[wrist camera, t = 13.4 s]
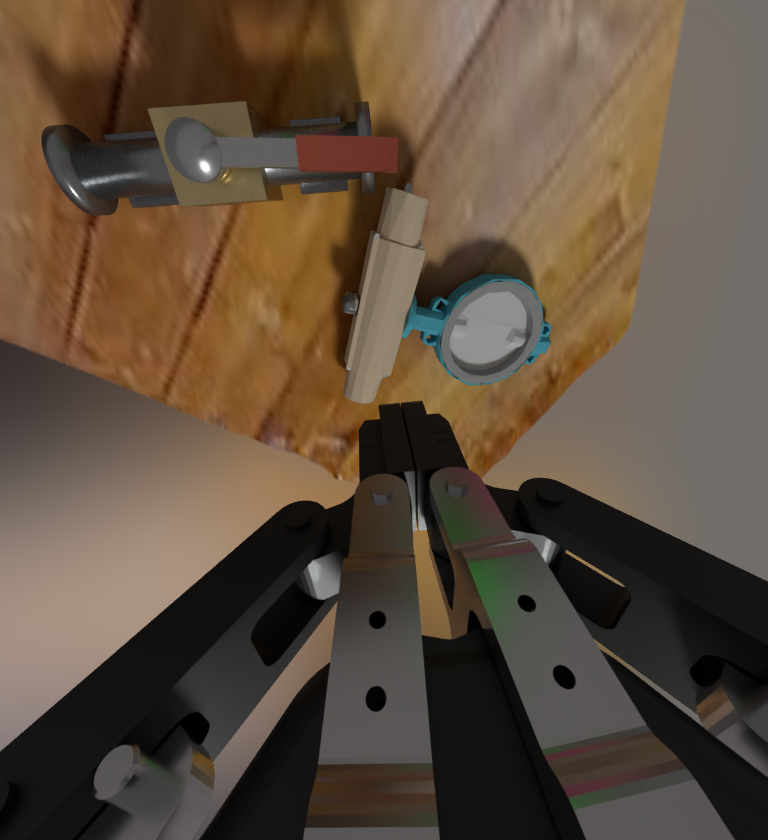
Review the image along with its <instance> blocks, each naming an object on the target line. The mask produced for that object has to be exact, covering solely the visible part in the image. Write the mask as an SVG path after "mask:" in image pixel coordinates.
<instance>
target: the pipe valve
mask: <svg viewBox="0 0 768 840" xmlns="http://www.w3.org/2000/svg"><path fill="white" fill-rule="evenodd" d="M148 112H149V115H150V118H151V121H152V124H153V127H154V130H155V131H147V132H134V133H121V134H108V135H104V137H105V140H106V141H97V142H91V141H90V139H89V138H88V137H87V136H86V135H85V134H83V133H82V132H81V131H80V130H78V129H77V128H75V127H73V126H71V125H53V126H48V127H46V128H45V129H44V131H43V133H42V149H43V153H44V157H45V160H46V162H47V165H48V167H49V169H50V171H51V173H52V175H53V177H54V179H55V180H56V182H57V184H58V185H59V187H60V188H61V189H62V191H63V192H64V193H65V195H66V196H67V197H68V198H69V199H70V200H71V201H72V202H73V203H74V204H75V205H76V206H77V207H78V208H80V209H81V210H82V211H84V212H86V213H88V214H90V215H93V216H100V215H110V214H113V213H114V212H115V211H116V209H117V206H118V198H128V197H129V200H130V202H131V205H132V207H133V208H140V207H156V206H168V205H180V207H187V206H220V205H232V204H244V203H256V202H269V201H281V200H283V197H282V192H281V187H280V185H288V184H300V188H301V194H314V193H326V192H339V191H348V184H347V180H350V179H361V187H362V194H367V193H374V173H330V172H301V171H300V170H299V169H269V168H227V171H226V173H225V175H224V176H223V178H222V179H221V180H219V181H218V182H216V183H212V184H207V183H199V182H194V181H191V180H189V179H187V178H185V177H184V176H182V175H181V174H180V173H179V172H178V171H177V170H176V169H175V168H174V167H173V165H172V164H171V162H170V160H169V158H168V156H167V153H166V149H165V143H164V137H165V132H166V129H167V127H168V125H169V124H170V123H171V122H172V121H173V120H174V119H176V118H179V117H189V118H193V119H195V120H197V121H199V122H201V123H203V124H205V125H207V126H208V127H210V128H211V129H213V130H214V131H215V132H216V133H217V134H218V136H219V137H243V138H291V139H296V136H295V135H325V136H371V137H372V132H371V121H370V111H369V104H368V102H355V119H356V121H355V122H342V123H341V119H340V117H329V118H316V119H303V120H290V121H289V122H290V127H278V128H269V125H268V122H267V121H266V120H265V119H264V118H263V117H262V116H261V115H260V114H259V113H258V112H257V111H256V110H255V109H254V108H252V107H251V106H250V105H249V104H248V103H247V102H246V101H241V102H228V103H214V104H201V105H188V106H174V107H161V108H148Z"/></svg>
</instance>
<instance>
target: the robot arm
mask: <svg viewBox="0 0 768 840" xmlns="http://www.w3.org/2000/svg"><path fill="white" fill-rule="evenodd" d="M379 415H380V419H376V420H366V421H364V423H363V424H362V426H361V427H360V429H359V472H360V482H359V485H358V486H357V488H356V491H355V494H354V495H353V496H352V497H351V498H350V499H348V500H347V501H345V502H343V503H341V504H339V505H336V506H334V507H331V508H328V509H325V508H324V507H323V506H322V505H320V504H319V503H316V502H313V501H298V502H294V503H291V504H289V505H287V506H285V507H283V508H282V509H281V510H279V512H277V513H276V514H275V515H274V516H272V517H271V518H270V519H269V520H268V521H267V522H265V523H264V524H263V525H262V526H261V527H260V528H259V529H257V530H256V531H255V532H254V533H253V534H252V535H251V536H249V537H248V538H247V539H246V540H245V541H243V542H242V543H241V544H240V545H239V546H238V547H237V548H235V549H234V550H233V551H232V552H231V553H230V554H228V555H227V556H226V557H225V558H224V559H223V560H222V561H220V562H219V563H218V564H217V565H216V566H215V567H213V568H212V569H211V570H210V571H209V572H208V573H206V574H205V575H204V576H203V577H202V578H201V579H200V580H198V581H197V582H196V583H195V584H194V585H193V586H191V587H190V588H189V589H188V590H187V591H186V592H185V593H183V594H182V595H181V596H180V597H179V598H178V599H176V600H175V601H174V602H173V603H172V604H171V605H169V606H168V607H167V608H166V609H165V610H164V611H162V612H161V613H160V614H159V615H158V616H157V617H156V618H154V619H153V620H152V621H151V622H150V623H149V624H148V625H146V626H145V627H144V628H143V629H142V630H141V631H139V632H138V633H137V634H136V635H135V636H134V637H132V638H131V639H130V640H129V641H128V642H127V643H126V644H124V645H123V646H122V647H121V648H120V649H119V650H117V651H116V652H115V653H114V654H113V655H112V656H111V657H109V658H108V659H107V660H106V661H105V662H103V663H102V664H101V665H100V666H99V667H98V668H97V669H95V670H94V671H93V672H92V673H91V674H90V675H89V676H87V677H86V678H85V679H84V680H83V681H81V683H79V684H78V685H77V686H76V687H75V688H73V689H72V690H71V691H70V692H69V693H68V694H66V695H65V696H64V697H63V698H62V699H61V700H60V701H58V702H57V703H56V704H55V705H54V706H53V707H52V708H50V709H49V710H48V711H47V712H46V713H44V714H43V715H42V716H41V717H40V718H39V719H38V720H36V721H35V722H34V723H33V724H32V725H31V726H29V727H28V728H27V729H26V730H25V731H24V732H23V733H21V734H20V735H19V736H18V737H17V738H16V739H14V740H13V741H12V742H11V743H10V744H9V745H7V746H6V747H5V748H4V749H3V750H2V751H0V840H191V839H192V837H193V836H194V834H195V832H196V831H197V829H198V827H199V825H200V824H201V822H202V820H203V818H204V816H205V814H206V812H207V809H208V807H209V804H210V801H211V797H212V793H213V788H214V779H215V772H214V765H213V761H214V760H215V759H216V758H217V756H218V755H219V753H220V752H221V751H222V750H223V748H224V747H225V746H226V745H227V743H228V742H229V741H230V739H231V738H232V737H233V735H234V734H235V733H236V732H237V730H238V729H239V728H240V726H241V725H242V724H243V722H244V721H245V720H246V719H247V717H248V716H249V715H250V713H251V712H252V711H253V710H254V708H255V707H256V706H257V704H258V703H259V702H260V701H261V699H262V698H263V696H264V695H265V694H266V693H267V691H268V690H269V689H270V687H271V686H272V685H273V684H274V682H275V681H276V680H277V678H278V677H279V676H280V675H281V673H282V672H283V671H284V669H285V668H286V667H287V666H288V664H289V663H290V661H291V660H292V659H293V658H294V656H295V655H296V654H297V652H298V651H299V650H300V649H301V647H302V646H303V644H305V642H306V641H307V640H308V638H309V637H310V636H311V634H312V633H313V632H314V631H315V629H316V628H317V627H318V625H319V624H320V623H321V621H322V620H323V619H324V617H325V616H326V615H327V614H328V612H329V611H330V610H331V608H332V607H333V606H334V605H335V603H336V602H337V601H338V602H337V610H336V620H335V627H334V635H333V645H332V653H331V661H330V663H328V664H327V665H326V666H324V667H323V668H322V669H321V670H319V671H318V672H317V673H316V674H315V675H314V676H313V677H312V678H311V679H310V680H309V681H308V682H307V683H306V684H305V685H304V686H303V688H302V689H301V690H300V691H299V692H298V693H297V695H296V696H295V698H294V699H293V701H292V702H291V703H290V705H289V707H288V708H287V709H286V711H285V712H284V714H283V715H282V717H281V718H280V720H279V721H278V723H277V724H276V726H275V727H274V729H273V730H272V732H271V733H270V735H269V736H268V738H267V739H266V741H265V742H264V744H263V745H262V747H261V748H260V750H259V751H258V753H257V754H256V756H255V757H254V759H253V760H252V762H251V763H250V765H249V766H248V768H247V769H246V771H245V772H244V774H243V775H242V776H241V778H240V779H239V781H238V783H237V784H236V786H235V787H234V789H233V790H232V791H231V793H230V795H229V796H228V798H227V799H226V800H225V802H224V804H223V805H222V807H221V808H220V809H219V811H218V812H217V814H216V815H215V817H214V818H213V820H212V821H211V823H210V824H209V826H208V827H207V829H206V830H205V832H204V833H203V835H202V836H201V838H200V839H199V840H768V581H765V580H763V579H761V578H759V577H757V576H755V575H753V574H751V573H749V572H747V571H744V570H743V569H740V568H738V567H736V566H734V565H732V564H730V563H728V562H726V561H724V560H722V559H719V558H717V557H715V556H713V555H711V554H709V553H707V552H705V551H703V550H701V549H699V548H697V547H695V546H692V545H690V544H688V543H686V542H684V541H682V540H680V539H678V538H676V537H674V536H672V535H670V534H667V533H665V532H663V531H661V530H659V529H657V528H655V527H653V526H651V525H648V524H646V523H644V522H642V521H640V520H638V519H636V518H634V517H632V516H630V515H628V514H625V513H623V512H622V511H619V510H617V509H615V508H613V507H611V506H609V505H607V504H605V503H603V502H600V501H599V500H596V499H594V498H592V497H590V496H588V495H586V494H584V493H582V492H580V491H577V490H576V489H574V488H571V487H569V486H567V485H565V484H563V483H561V482H558V481H556V480H552V479H548V478H533V479H529V480H527V481H525V482H524V483H522V485H521V486H520V488H519V491H514V490H508V489H500V488H495V487H492V486H488V485H486V484H484V482H483V481H482V479H481V478H480V477H479V476H478V475H477V474H476V473H474V472H473V471H471V470H469V468H468V466H467V464H466V461H465V459H464V457H463V454H462V452H461V450H460V447H459V445H458V443H457V441H456V438H455V436H454V433H453V432H452V429H451V426H450V424H449V422H448V421H447V420H446V419H445V418H444V417H442V416H441V415H440V414H439V413H438V414H428V415H427V413H426V410H425V407H424V404H423V402H422V401H414V402H404V403H401V407H400V403H394V404H384V405H379ZM416 521H417V526H418V530H427V532H428V537H429V554H430V558H431V561H432V564H433V568H434V571H435V574H436V578H437V581H438V584H439V587H440V591H441V594H442V598H443V601H444V604H445V608H446V611H447V614H448V618H449V623H450V629H451V637H452V639H450V640H448V639H441V638H436V637H429V636H423V635H421V623H420V610H419V598H418V586H417V575H416V564H415V555H414V549H413V531H416ZM566 550H568V551H569V552H571V553H573V554H575V555H576V556H578V557H580V558H581V559H583V560H585V561H586V562H588V563H590V564H591V565H593V566H595V567H596V568H598V569H600V570H601V571H603V572H604V573H606V574H608V575H610V576H611V577H613V578H614V579H616V580H618V581H619V582H620V583H622V584H623V585H624V586H625V587H622V586H620V585H618V584H616V583H614V582H613V581H611V580H609V579H607V578H606V577H604V576H603V575H601V574H599V573H598V572H596V571H594V570H593V569H591V568H589V567H588V566H586V565H584V564H583V563H581V562H580V561H578V560H576V559H575V558H573V557H571V556H570V555H568V554H566ZM594 639H595V640H596V641H598V642H599V643H600V644H602V645H603V646H605V647H606V648H607V649H609V650H610V651H611V652H613V653H614V654H615V655H617V656H618V657H619V658H621V659H623V660H624V661H625V662H626V663H628V664H629V665H630V666H632V667H633V668H635V669H636V670H637V671H639V672H640V673H641V674H643V675H644V676H646V677H647V678H648V679H650V680H651V681H652V682H654V683H655V684H657V685H658V686H659V687H661V688H662V689H663V690H665V691H666V692H668V693H669V694H670V695H671V696H673V697H674V698H676V699H677V700H678V701H680V702H681V703H682V704H684V705H685V706H687V707H688V708H690V709H691V710H692V711H694V712H695V713H696V714H698V716H699V719H700V721H701V724H702V725H703V727H702V726H701V725H700V724H698V723H697V722H696V721H695V720H693V719H692V718H691V717H689V716H688V715H687V714H685V713H684V712H683V711H682V710H680V709H679V708H678V707H676V706H675V705H674V704H673V703H671V702H670V701H669V700H667V699H666V698H665V697H664V696H662V695H661V694H660V693H658V692H657V691H656V690H655V689H653V688H652V687H651V686H649V685H648V684H647V683H646V682H644V681H643V680H642V679H640V678H639V677H638V676H636V675H635V674H634V673H633V672H631V671H630V670H629V669H627V668H626V667H625V666H624V665H622V664H621V663H620V662H618V661H617V660H616V659H614V658H612V657H611V656H610V655H608V654H607V653H605V652H603V651H602V650H600V649H599V648H598V646H597V644H596V643H595V641H594Z"/></svg>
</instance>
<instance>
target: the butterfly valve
mask: <svg viewBox="0 0 768 840" xmlns="http://www.w3.org/2000/svg"><path fill="white" fill-rule="evenodd" d="M411 187H412V183H410V182H408V183H407V185H406V187H405V189H404V191H401V190H398V189H394V188H388V187H387V189H386V193H385V197H384V202H383V206H382V210H381V215H380V219H379V223H378V228H377V232H376V231H372V230H371V233H370V237H369V242H368V246H367V251H366V256H365V261H364V266H363V271H362V276H361V281H360V285H359V290H358V294H355V293H352V292H348V291H347V292H346V294H345V296H344V298H343V302H342V309H343V312H345V313H349V314H354V315H353V320H352V324H351V329H350V334H349V339H348V344H347V349H346V354H345V360H344V361H345V362H346V369H347V374H346V379H345V385H344V390H343V393H344V395H345V397H346V398H348V399H349V400H351V401H354V402H357V403H371V402H372V401H373V400H374V399H375V396H376V393H377V390H378V388H379V385H380V382H381V379H382V378H383V377H387V375H388V376H390V375H391V372H392V369H393V365H394V362H395V358H396V355H397V351H398V348H399V344H400V341H401V338H407V336H408V335H409V333H410V331H411V329H416V330H420V331H421V335H420V338H421V340H422V341H423V342H424V343H425V344H426V345H432V346H433V347H434V350H435V352H436V355H437V358H438V359H439V361H440V363H441V364H442V365H443V366H444V368H445V369H446V371H447V372H448V374H450V375H451V376H453V377H455V378H456V379H458V380H460V381H462V382H463V383H465V384H467V385H485V384H491V383H494V382H496V381H499V380H501V379H504V378H507V377H509V376H510V375H512V374H513V373H514V372H516V371H517V370H518V369H519V368H520V367H521V366H522V365H523V364H524V363H526V364H531V363H534V362H535V360H536V358H537V357H538V355H539V354H540V353H546V351H547V349H548V347H549V345H550V344H551V341H550V339H549V333H550V331H551V329H552V327H551V326H550V324H549V323H547V322H545V321H543V310H542V305H541V303H540V301H539V299H538V297H537V295H536V293H535V291H534V290H533V289H532V288H531V287H529V286H528V285H526V284H525V283H524V282H522V281H521V280H519V279H517V278H514V277H512V276H509V275H507V274H482V275H480V276H477V277H475V278H473V279H471V280H469V281H466V282H464V283H462V284H461V285H460V286H459V287H458V288H456V289H455V290H454V291H453V292H452V293H450V295H449V296H448V298H447V299H445V298H442V297H440V296H437V297H434V298H432V300H431V303H430V305H429V308H425V307H419V306H417V300H416V296H415V293H414V292H415V289H416V286H417V282H418V279H419V275H420V272H421V268H422V265H423V261H424V258H425V254H426V251H424V250H423V249H422V248H423V246H421V232H422V227H423V223H424V219H425V215H426V211H427V207H428V202H429V200H428V199H426V198H423V197H420V196H417V195H414V194H412V193H413V191H414V190H413V189H411ZM440 300H441V301H442V302H443V305H442V306H441V307H440V309H438V308H436V307H437V305H438V304H439V302H440ZM430 334H432V336H431V338H430V339H425V337H427V336H429V335H430Z"/></svg>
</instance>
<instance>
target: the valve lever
mask: <svg viewBox="0 0 768 840" xmlns="http://www.w3.org/2000/svg"><path fill="white" fill-rule="evenodd" d="M295 136H296V139H291V138H243V137H219V136H218V134H217V133H216V132H215V131H214V130H213V129H211V128H210V127H208V126H207V125H205V124H203V123H201V122H199V121H197V120H195V119H193V118H189V117H179V118H176V119H174V120H173V121H172V122H171V123H170V124H169V125H168V127H167V129H166V132H165V137H164V143H165V149H166V153H167V156H168V158H169V160H170V162H171V164H172V165H173V167H174V168H175V169H176V170H177V171H178V172H179V173H180V174H181V175H182V176H184V177H185V178H187V179H189V180H191V181H194V182H199V183H207V184H212V183H216V182H218V181H219V180H221V179H222V178H223V176H224V175H225V173H226V171H227V168H269V169H299V170H300V171H301V172H330V173H396V172H397V171H398V137H371V136H325V135H295Z"/></svg>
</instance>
